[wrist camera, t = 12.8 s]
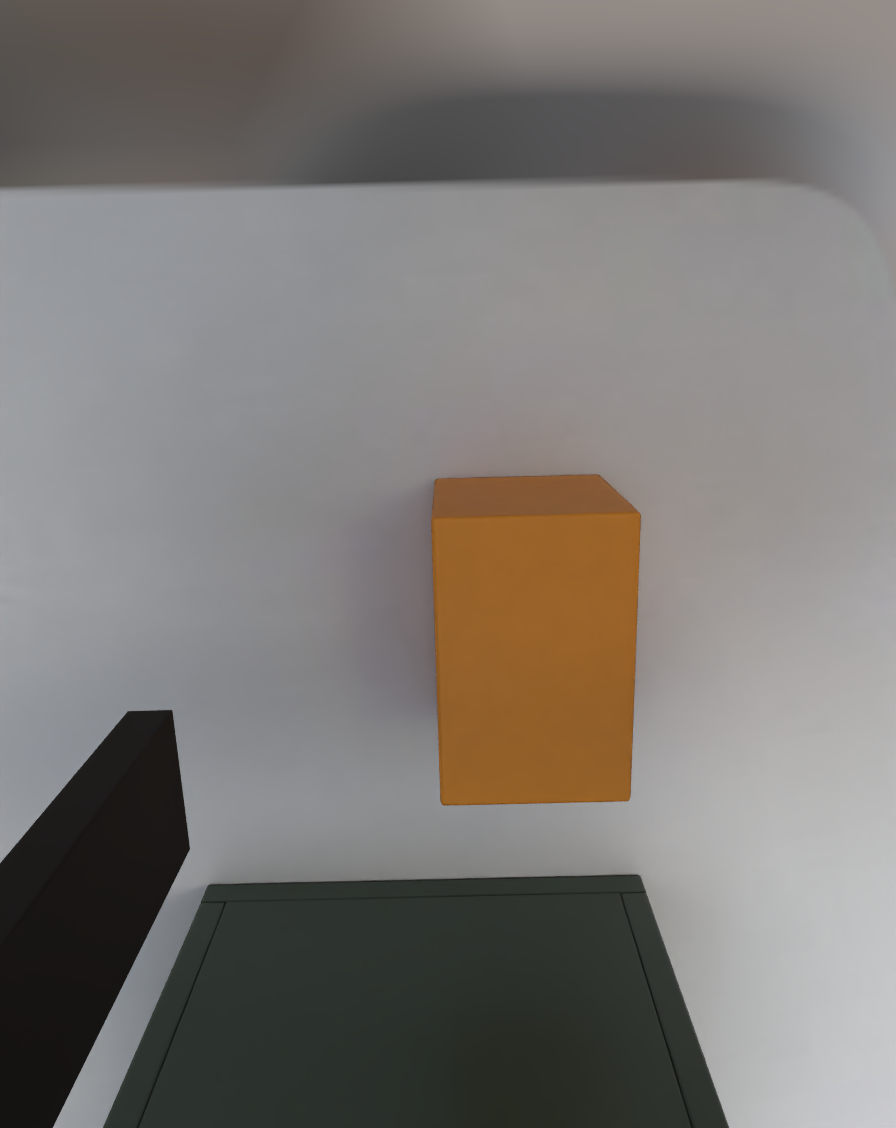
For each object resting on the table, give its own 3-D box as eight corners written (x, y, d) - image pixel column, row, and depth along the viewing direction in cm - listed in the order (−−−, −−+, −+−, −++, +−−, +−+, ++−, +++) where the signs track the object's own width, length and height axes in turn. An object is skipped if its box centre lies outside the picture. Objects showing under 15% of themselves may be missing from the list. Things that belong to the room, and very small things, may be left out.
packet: (434, 478, 22) (430, 517, 18) (600, 473, 22) (641, 512, 17) (442, 713, 24) (440, 807, 19) (594, 709, 24) (631, 803, 19)
